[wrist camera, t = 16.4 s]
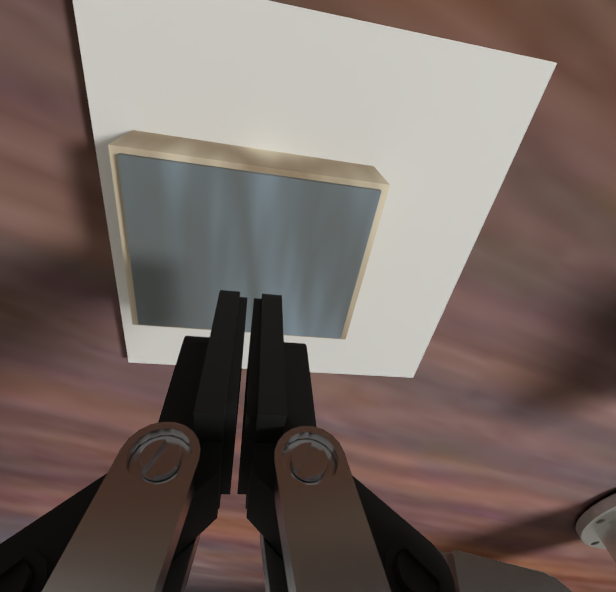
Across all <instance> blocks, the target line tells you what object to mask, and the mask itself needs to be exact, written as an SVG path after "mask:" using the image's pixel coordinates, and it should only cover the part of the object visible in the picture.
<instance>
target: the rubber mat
mask: <svg viewBox="0 0 616 592" xmlns="http://www.w3.org/2000/svg"><path fill="white" fill-rule="evenodd" d="M73 6H74V13H75V19H76V26H77V32H78V39H79V45H80V51H81V58H82V64H83V71H84V77H85V84H86V90H87V97H88V103H89V110H90V116H91V123H92V129H93V135H94V142H95V148H96V155H97V161H98V168H99V174H100V181H101V187H102V194H103V200H104V207H105V213H106V219H107V226H108V232H109V239H110V245H111V252H112V258H113V265H114V271H115V278H116V284H117V291H118V297H119V304H120V310H121V316H122V323H123V329H124V336H125V342H126V349H127V355H128V362H131V363H150V364H168V365H176V363H177V359H178V356H179V353H180V349H181V346H182V343H183V340H184V337H185V336H198V337H210V333H211V330H201V329H186V328H172V327H158V326H143V325H132V317H131V310H130V303H129V295H128V288H127V280H126V273H125V266H124V258H123V251H122V244H121V236H120V229H119V221H118V214H117V207H116V199H115V192H114V185H113V177H112V170H111V163H110V155H109V148H108V144H110V143H112V142H113V141H115V140H117V139H118V138H120V137H122V136H124V135H125V134H127V133H129V132H130V131H132V130H137V131H143V132H150V133H157V134H163V135H170V136H177V137H183V138H190V139H197V140H203V141H210V142H217V143H223V144H230V145H236V146H243V147H250V148H256V149H263V150H270V151H276V152H283V153H290V154H296V155H303V156H310V157H316V158H323V159H330V160H336V161H343V162H349V163H356V164H363V165H369V166H374V167H375V168H376V169H377V171H378V172H379V173H380V174H381V175H382V176H383V177H384V179H385V180H386V181H387V182H388V183H389V184H390V187H389V190H388V194H387V197H386V201H385V204H384V208H383V211H382V215H381V218H380V221H379V225H378V228H377V232H376V235H375V239H374V242H373V246H372V249H371V253H370V256H369V260H368V263H367V267H366V270H365V274H364V277H363V281H362V284H361V288H360V291H359V294H358V298H357V301H356V305H355V308H354V312H353V315H352V319H351V322H350V326H349V329H348V333H347V336H346V340H345V339H331V338H316V337H302V336H287V335H284V342H289V343H304V344H306V346H307V353H308V361H309V369H310V372H318V373H336V374H355V375H374V376H392V377H411V378H413V377H414V374H415V372H416V370H417V368H418V366H419V364H420V361H421V359H422V357H423V355H424V353H425V350H426V348H427V346H428V344H429V342H430V339H431V337H432V335H433V333H434V331H435V329H436V326H437V324H438V322H439V320H440V318H441V315H442V313H443V311H444V309H445V307H446V305H447V302H448V300H449V298H450V296H451V294H452V291H453V289H454V287H455V285H456V283H457V280H458V278H459V276H460V274H461V272H462V270H463V267H464V265H465V263H466V261H467V259H468V256H469V254H470V252H471V250H472V248H473V246H474V243H475V241H476V239H477V237H478V235H479V232H480V230H481V228H482V226H483V224H484V222H485V219H486V217H487V215H488V213H489V211H490V208H491V206H492V204H493V202H494V200H495V197H496V195H497V193H498V191H499V189H500V187H501V184H502V182H503V180H504V178H505V176H506V173H507V171H508V169H509V167H510V165H511V163H512V160H513V158H514V156H515V154H516V152H517V149H518V147H519V145H520V143H521V141H522V138H523V136H524V134H525V132H526V130H527V128H528V125H529V123H530V121H531V119H532V117H533V114H534V112H535V110H536V108H537V106H538V104H539V101H540V99H541V97H542V95H543V93H544V90H545V88H546V86H547V84H548V82H549V80H550V77H551V75H552V73H553V71H554V69H555V66H556V64H557V63H555V62H550V61H545V60H541V59H536V58H532V57H527V56H522V55H518V54H513V53H508V52H504V51H499V50H495V49H490V48H485V47H481V46H476V45H472V44H467V43H462V42H458V41H453V40H448V39H444V38H439V37H435V36H430V35H425V34H421V33H416V32H411V31H407V30H402V29H398V28H393V27H388V26H384V25H379V24H374V23H370V22H365V21H361V20H356V19H351V18H347V17H342V16H337V15H333V14H328V13H324V12H319V11H314V10H310V9H305V8H301V7H296V6H291V5H287V4H282V3H277V2H273V1H268V0H73ZM250 334H251V333H245V335H244V346H243V358H242V368H243V369H247V365H248V355H249V344H250Z"/></svg>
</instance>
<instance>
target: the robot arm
mask: <svg viewBox="0 0 616 592" xmlns="http://www.w3.org/2000/svg"><path fill="white" fill-rule="evenodd" d="M247 299H248V298H247V297H240V292H239V291H227V290H220V292H219V296H218V301H217V305H216V310H215V315H214V319H213V324H212V329H211V333H210V337H198V336H185V337H184V340H183V343H182V346H181V349H180V353H179V356H178V359H177V363H176V366H175V369H174V372H173V376H172V379H171V382H170V386H169V389H168V392H167V396H166V399H165V402H164V405H163V409H162V412H161V415H160V419H159V422H158V423H155V424H151V425H149V426H147V427H144V428H142V429H140V430H138V431H137V432H136V433H135V434H134V435H132V436H131V437H130V438H129V439H128V440H127V441H126V443H125V444H124V445H123V447H122V448H121V450H120V451H119V453H118V455H117V457H116V459H115V460H114V462H113V464H112V466H111V468H110V469H109V471H108V473H107V474H105V475H104V476H102V477H101V478H99V479H98V480H96V481H95V482H93V483H92V484H90V485H89V486H87V487H86V488H84V489H83V490H81V491H80V492H78V493H77V494H75V495H74V496H72V497H71V498H69V499H68V500H66V501H64V502H63V503H61V504H60V505H58V506H57V507H55V508H54V509H52V510H51V511H49V512H48V513H46V514H45V515H43V516H42V517H40V518H39V519H37V520H36V521H34V522H33V523H31V524H30V525H28V526H27V527H25V528H24V529H22V530H21V531H19V532H18V533H16V534H15V535H13V536H12V537H10V538H9V539H7V540H6V541H4V542H3V543H1V544H0V592H185V588H186V585H187V581H188V578H189V574H190V571H191V567H192V564H193V560H194V557H195V553H196V550H197V546H198V543H199V539H200V533H201V532H203V531H204V530H205V529H206V528H207V527H208V526H209V525H210V524H211V523H212V522H213V521H214V520H215V519H216V518H217V513H218V509H219V507H220V498H221V494H230V489H231V478H232V467H233V457H234V446H235V435H236V424H237V414H238V403H239V392H240V381H241V370H242V358H243V346H244V335H245V323H246V311H247ZM238 494H246V509H247V519H248V520H249V521H250V522H251V523H252V524H253V525H254V526H255V527H256V528H257V530H258V531H259V532H260V544H261V553H262V562H263V571H264V580H265V589H266V592H572V591H571V590H570V589H569V588H568V587H566V586H565V585H564V584H563V583H562V582H560V581H559V580H558V579H557V578H555V577H553V576H550V575H548V574H546V573H544V572H540V571H536V570H532V569H528V568H524V567H520V566H517V565H513V564H509V563H505V562H501V561H497V560H493V559H489V558H485V557H481V556H477V555H473V554H469V553H465V552H461V551H457V550H452V551H451V552H450V553H447V552H443V551H439V550H437V548H436V547H435V546H434V545H433V544H432V543H431V542H430V541H429V540H427V539H426V538H425V537H424V536H423V535H421V534H420V533H419V532H418V531H417V530H416V529H414V528H413V527H412V526H411V525H410V524H409V523H407V522H406V521H405V520H404V519H403V518H402V517H400V516H399V515H398V514H397V513H396V512H395V511H393V510H392V509H391V508H390V507H389V506H387V505H386V504H385V503H384V502H383V501H382V500H380V499H379V498H378V497H377V496H376V495H375V494H373V493H372V492H371V491H370V490H369V489H368V488H366V487H365V486H364V485H363V484H362V483H361V482H359V481H358V480H357V479H356V478H355V477H353V476H352V474H351V471H350V468H349V465H348V462H347V459H346V456H345V453H344V451H343V449H342V447H341V445H340V443H339V442H338V441H337V440H336V439H335V438H334V437H333V435H331V434H330V433H328V432H326V431H325V430H323V429H320V428H317V427H316V420H315V411H314V403H313V395H312V386H311V378H310V369H309V361H308V353H307V346H306V344H304V343H289V342H284V335H283V311H282V295H273V294H262V298H261V299H259V298H254V302H253V313H252V323H251V334H250V344H249V355H248V365H247V376H246V389H245V402H244V415H243V429H242V442H241V455H240V468H239V481H238ZM575 529H576V532H577V534H578V535H579V537H580V538H581V540H582V541H583V543H584V544H586V545H588V546H590V547H595V548H603V549H607V550H608V552H609V553H610V555H611V556H612V558H613V559H614V561H615V562H616V493H614V494H612V495H610V496H608V497H606V498H604V499H602V500H601V501H599V502H598V503H596V504H594V505H593V506H591V507H590V508H589V509H588V510H586V511H585V512H584V513H583V514H582V515H581V516H580V518H579V519H578V521H577V523H576V528H575Z"/></svg>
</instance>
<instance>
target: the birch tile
mask: <svg viewBox="0 0 616 592" xmlns="http://www.w3.org/2000/svg"><path fill="white" fill-rule="evenodd" d="M108 148H109V155H110V163H111V170H112V177H113V185H114V192H115V199H116V207H117V214H118V221H119V229H120V236H121V244H122V251H123V258H124V266H125V273H126V280H127V288H128V295H129V303H130V310H131V317H132V325H143V326H158V327H172V328H186V329H201V330H211V329H212V324H213V319H214V315H215V310H216V305H217V301H218V296H219V292H220V290H227V291H239V292H240V297H247V298H248V299H247V311H246V323H245V333H251V323H252V313H253V302H254V298H259V299H261V298H262V294H273V295H282V311H283V335H287V336H302V337H316V338H331V339H345V340H346V336H347V333H348V329H349V326H350V322H351V319H352V315H353V312H354V308H355V305H356V301H357V298H358V294H359V291H360V288H361V284H362V281H363V277H364V274H365V270H366V267H367V263H368V260H369V256H370V253H371V249H372V246H373V242H374V239H375V235H376V232H377V228H378V225H379V221H380V218H381V215H382V211H383V208H384V204H385V201H386V197H387V194H388V190H389V187H390V184H389V183H388V182H387V181H386V180H385V179H384V177H383V176H382V175H381V174H380V173H379V172H378V171H377V169H376V168H375V167H374V166H369V165H363V164H356V163H349V162H343V161H336V160H330V159H323V158H316V157H310V156H303V155H296V154H290V153H283V152H276V151H270V150H263V149H256V148H250V147H243V146H236V145H230V144H223V143H217V142H210V141H203V140H197V139H190V138H183V137H177V136H170V135H163V134H157V133H150V132H143V131H137V130H132V131H130V132H129V133H127V134H125V135H124V136H122V137H120V138H118V139H117V140H115V141H113V142H112V143H110V144H108Z"/></svg>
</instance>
